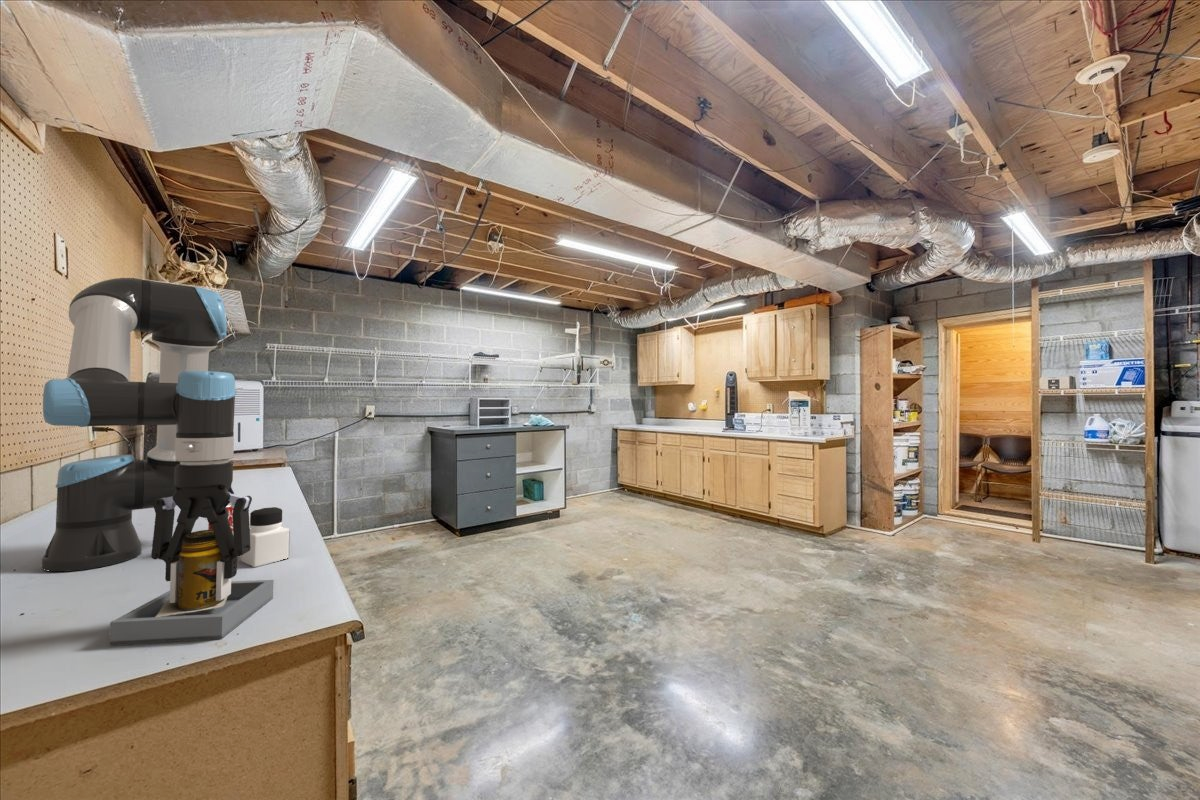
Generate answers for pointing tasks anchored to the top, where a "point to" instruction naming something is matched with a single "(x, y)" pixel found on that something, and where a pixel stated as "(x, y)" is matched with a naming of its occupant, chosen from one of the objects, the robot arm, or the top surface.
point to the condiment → (196, 575)
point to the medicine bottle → (267, 537)
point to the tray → (191, 617)
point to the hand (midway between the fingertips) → (201, 598)
